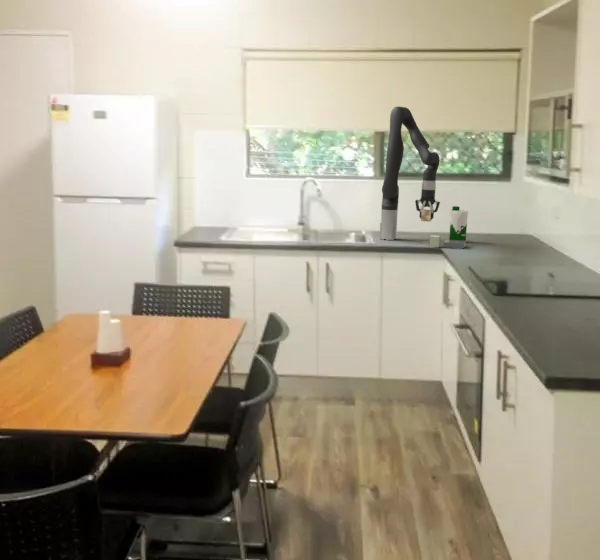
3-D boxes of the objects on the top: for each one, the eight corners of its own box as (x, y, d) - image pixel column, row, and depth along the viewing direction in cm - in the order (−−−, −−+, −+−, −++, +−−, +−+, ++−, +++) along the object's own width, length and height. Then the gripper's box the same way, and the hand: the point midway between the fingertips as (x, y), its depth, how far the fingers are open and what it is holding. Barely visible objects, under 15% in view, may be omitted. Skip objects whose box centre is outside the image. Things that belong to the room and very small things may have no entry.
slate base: (443, 247, 460) (443, 242, 460) (445, 244, 471) (446, 239, 470) (463, 248, 457) (464, 243, 457) (465, 246, 468) (465, 240, 467)
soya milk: (453, 240, 489) (455, 205, 485) (468, 241, 484) (470, 207, 480) (446, 241, 482) (448, 206, 478) (461, 243, 477) (463, 208, 473)
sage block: (429, 247, 461) (429, 236, 460) (430, 245, 466) (431, 235, 465) (438, 247, 460) (439, 236, 459) (439, 246, 465) (440, 235, 464)
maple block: (421, 220, 469) (421, 210, 468) (422, 219, 473) (423, 209, 472) (430, 221, 467) (430, 210, 466) (431, 220, 472) (432, 210, 471)
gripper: (414, 188, 465) (412, 218, 469) (440, 190, 461) (438, 220, 465) (416, 187, 472) (414, 217, 476) (442, 189, 468) (440, 219, 472)
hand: (426, 218), depth 470 cm, fingers closed on maple block, 5 cm apart
